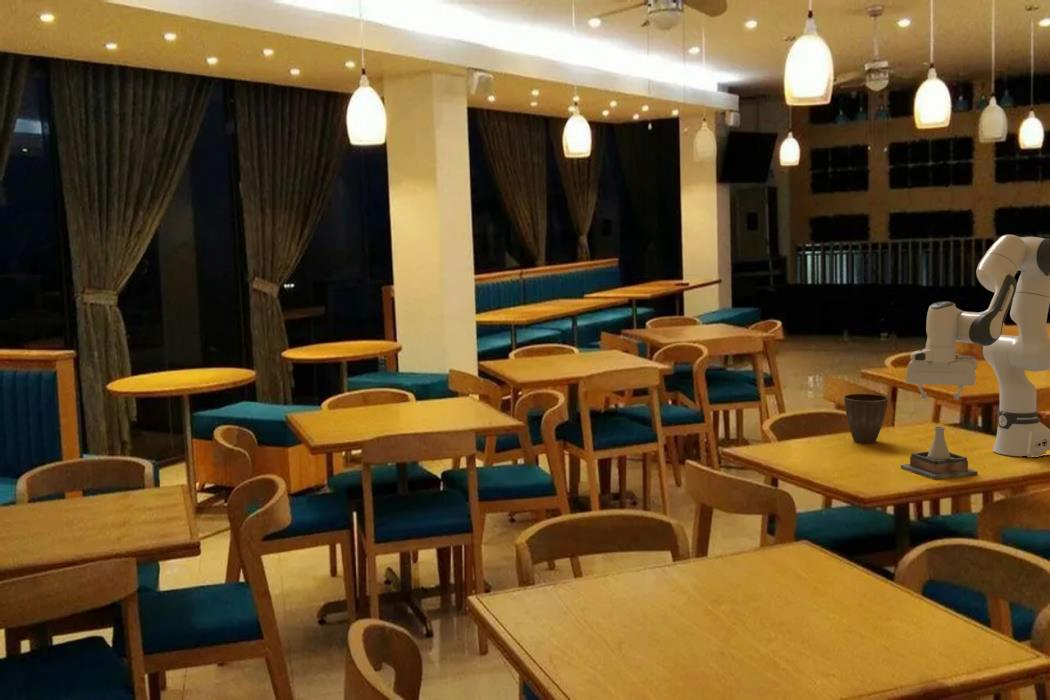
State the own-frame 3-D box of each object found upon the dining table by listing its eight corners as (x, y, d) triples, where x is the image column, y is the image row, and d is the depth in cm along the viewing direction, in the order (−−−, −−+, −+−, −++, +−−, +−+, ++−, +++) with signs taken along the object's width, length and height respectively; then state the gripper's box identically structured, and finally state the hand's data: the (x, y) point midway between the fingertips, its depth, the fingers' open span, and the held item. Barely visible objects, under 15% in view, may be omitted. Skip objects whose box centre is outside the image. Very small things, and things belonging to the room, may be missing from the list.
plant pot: (882, 437, 381) (883, 393, 379) (891, 446, 367) (892, 400, 365) (840, 437, 383) (840, 393, 381) (846, 445, 369) (847, 400, 367)
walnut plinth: (943, 463, 340) (943, 448, 339) (977, 474, 324) (978, 458, 324) (900, 468, 335) (900, 452, 335) (933, 479, 320) (933, 463, 319)
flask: (947, 456, 333) (948, 424, 331) (954, 461, 325) (955, 429, 324) (923, 456, 333) (924, 425, 332) (930, 461, 326) (931, 429, 325)
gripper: (977, 354, 324) (976, 398, 326) (907, 352, 332) (906, 395, 334) (977, 356, 319) (976, 401, 320) (905, 355, 327) (905, 399, 328)
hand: (940, 398), depth 327 cm, fingers open, 8 cm apart
